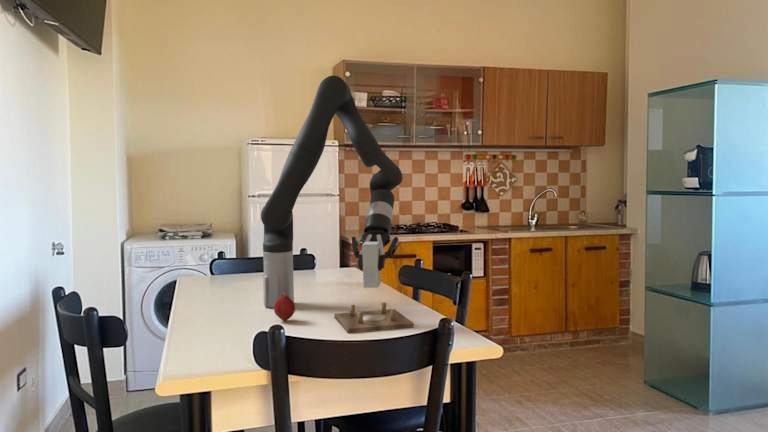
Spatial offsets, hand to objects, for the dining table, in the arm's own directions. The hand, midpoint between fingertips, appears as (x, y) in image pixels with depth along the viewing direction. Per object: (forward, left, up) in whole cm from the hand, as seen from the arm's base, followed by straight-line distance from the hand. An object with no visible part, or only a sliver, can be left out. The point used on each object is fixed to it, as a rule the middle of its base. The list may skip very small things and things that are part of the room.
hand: (370, 268), depth 169 cm
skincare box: (+1, +2, -5) cm, 6 cm away
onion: (-22, +12, -16) cm, 29 cm away
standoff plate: (+1, +2, -15) cm, 16 cm away
